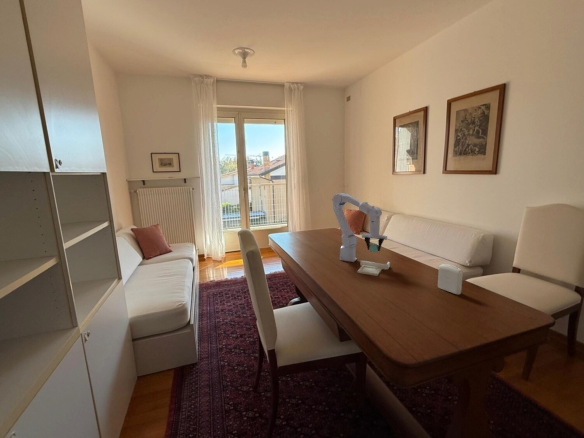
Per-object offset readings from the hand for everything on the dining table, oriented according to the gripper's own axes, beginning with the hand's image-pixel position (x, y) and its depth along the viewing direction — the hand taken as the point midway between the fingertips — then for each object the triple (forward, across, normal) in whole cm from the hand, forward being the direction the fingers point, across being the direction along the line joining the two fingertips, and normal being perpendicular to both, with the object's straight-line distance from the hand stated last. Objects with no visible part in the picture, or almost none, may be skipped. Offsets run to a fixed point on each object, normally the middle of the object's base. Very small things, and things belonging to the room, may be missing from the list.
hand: (373, 250), depth 159 cm
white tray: (+9, 0, -12) cm, 15 cm away
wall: (+9, +1, -2) cm, 10 cm away
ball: (+2, 0, 0) cm, 2 cm away
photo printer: (+10, +39, -21) cm, 46 cm away
